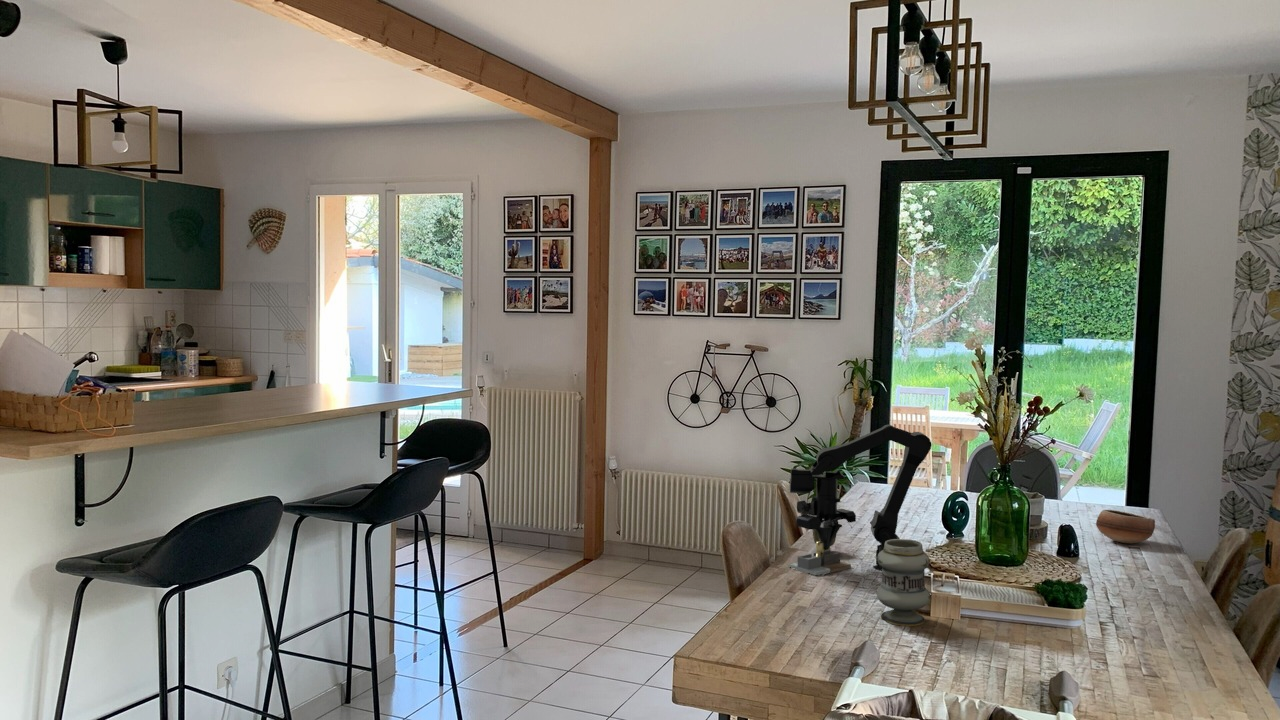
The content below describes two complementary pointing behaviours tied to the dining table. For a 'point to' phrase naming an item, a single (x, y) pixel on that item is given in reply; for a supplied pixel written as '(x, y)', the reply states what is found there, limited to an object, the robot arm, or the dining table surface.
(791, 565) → the jamb keeper
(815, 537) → the cup
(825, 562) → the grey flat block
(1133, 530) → the bowl
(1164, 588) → the dining table surface
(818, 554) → the bolt
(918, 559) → the apothecary jar
